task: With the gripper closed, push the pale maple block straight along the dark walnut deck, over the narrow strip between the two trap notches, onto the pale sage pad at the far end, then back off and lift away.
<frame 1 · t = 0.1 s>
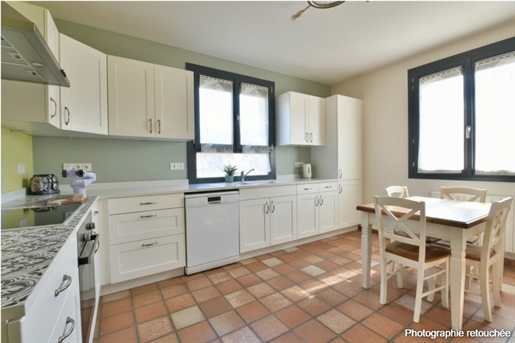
hand: (69, 173, 163), 21 cm above the countertop, tool horizontal, fingers open, 7 cm apart
trap deck: (68, 203, 165), on the countertop
maple block: (79, 199, 167), point 2 cm above the countertop, touching trap deck
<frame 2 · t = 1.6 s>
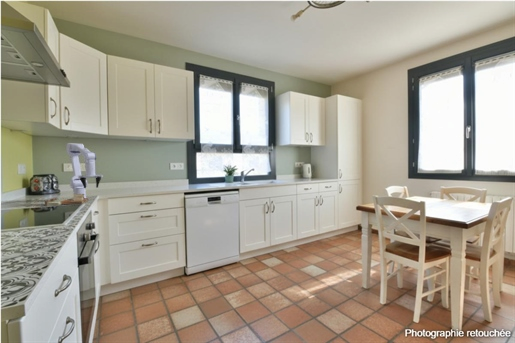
hand: (91, 187, 170), 10 cm above the countertop, tool pointing down, fingers open, 7 cm apart
nothing on the countertop moved.
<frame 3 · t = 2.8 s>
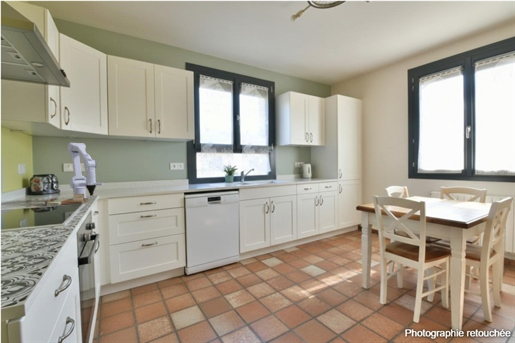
hand: (91, 195, 170), 5 cm above the countertop, tool pointing down, fingers closed
nothing on the countertop moved.
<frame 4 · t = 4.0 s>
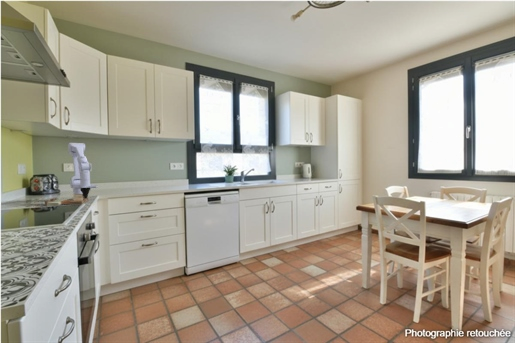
hand: (85, 198, 169), 3 cm above the countertop, tool pointing down, fingers closed
maple block: (79, 199, 167), point 2 cm above the countertop, touching gripper, trap deck
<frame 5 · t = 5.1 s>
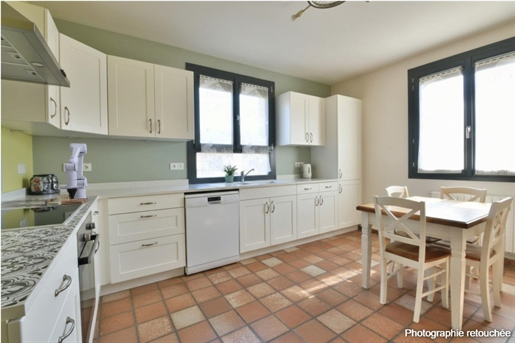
hand: (72, 198, 166), 3 cm above the countertop, tool pointing down, fingers closed
maple block: (65, 200, 164), point 2 cm above the countertop, touching gripper, trap deck
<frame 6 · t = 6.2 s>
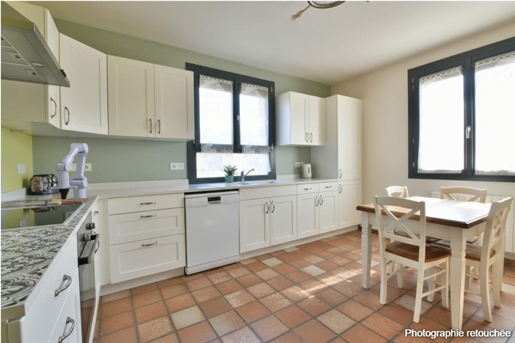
hand: (64, 199, 164), 3 cm above the countertop, tool pointing down, fingers closed
maple block: (57, 201, 162), point 2 cm above the countertop, touching gripper, trap deck
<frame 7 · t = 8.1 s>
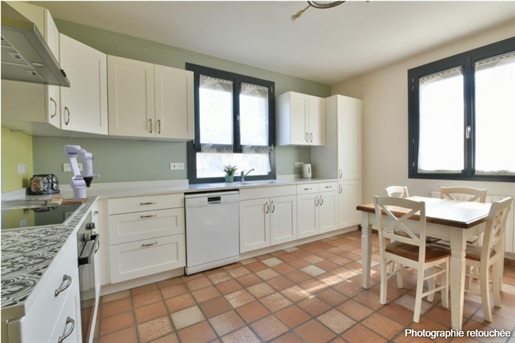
hand: (88, 187, 173), 10 cm above the countertop, tool pointing down, fingers closed
maple block: (57, 201, 162), point 2 cm above the countertop, touching trap deck
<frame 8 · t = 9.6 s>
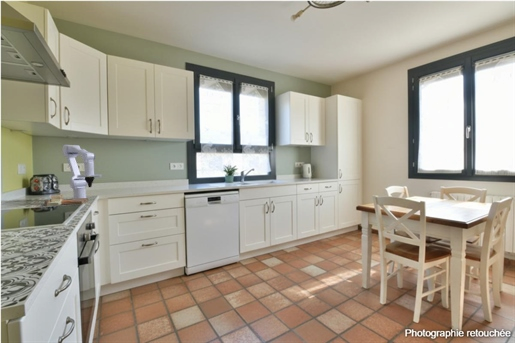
hand: (90, 187, 173), 10 cm above the countertop, tool pointing down, fingers closed
nothing on the countertop moved.
at the end: maple block 0.1 cm from the target spot on the trap deck, point 2.0 cm above the trap deck's base; maple block tilted 0° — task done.
